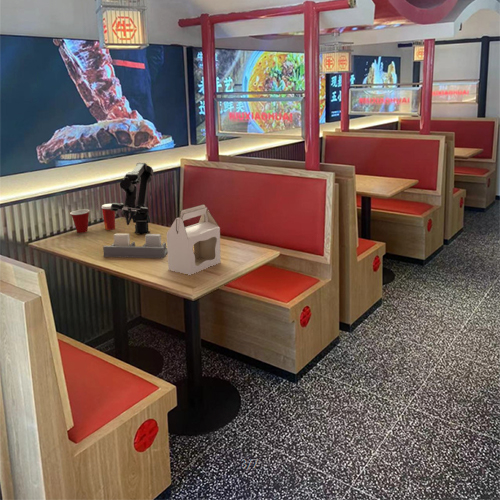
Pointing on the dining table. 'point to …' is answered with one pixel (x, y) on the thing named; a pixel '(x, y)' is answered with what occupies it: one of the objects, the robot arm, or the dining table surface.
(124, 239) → the cream block
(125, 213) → the robot arm
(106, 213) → the paper cup
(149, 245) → the white box
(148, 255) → the grey compartment tray
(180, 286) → the dining table surface
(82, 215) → the plastic cup
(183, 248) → the gable box
